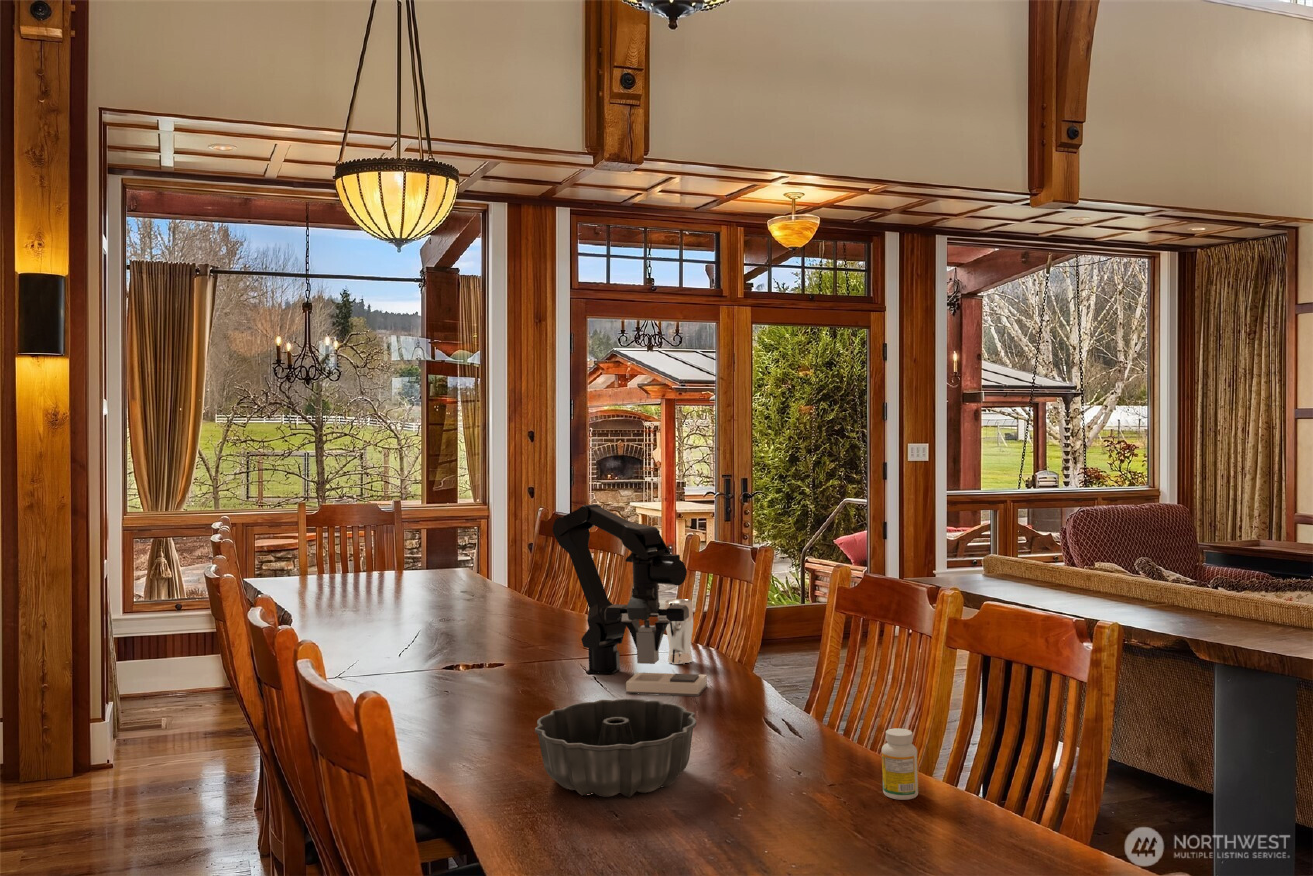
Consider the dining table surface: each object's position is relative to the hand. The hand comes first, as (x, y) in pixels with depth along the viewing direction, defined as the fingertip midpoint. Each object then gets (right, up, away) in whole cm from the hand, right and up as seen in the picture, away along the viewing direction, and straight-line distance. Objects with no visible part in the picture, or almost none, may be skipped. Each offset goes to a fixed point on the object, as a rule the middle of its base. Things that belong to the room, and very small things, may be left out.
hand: (647, 650), depth 235 cm
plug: (0, -3, 0) cm, 3 cm away
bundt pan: (-4, -8, -67) cm, 68 cm away
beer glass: (+8, -7, +18) cm, 21 cm away
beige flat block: (+4, -7, -9) cm, 12 cm away
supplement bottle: (+39, -6, -78) cm, 87 cm away
